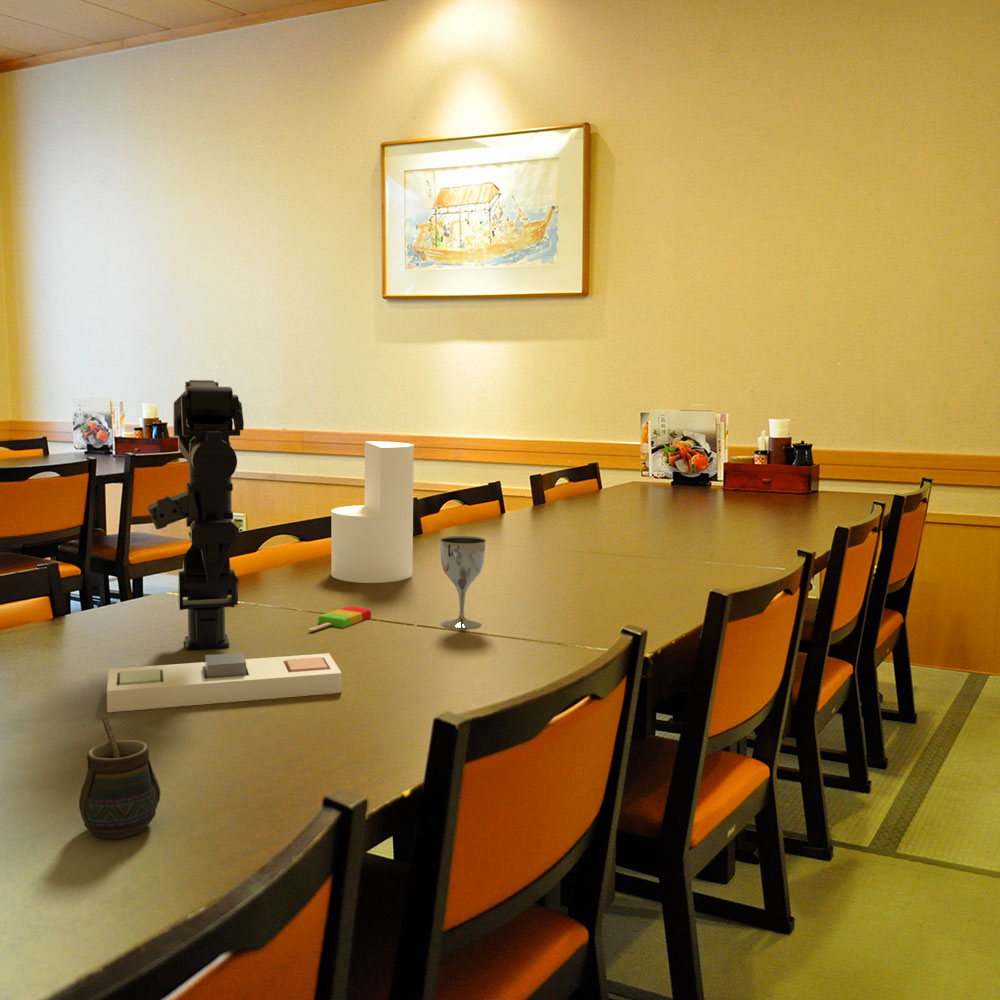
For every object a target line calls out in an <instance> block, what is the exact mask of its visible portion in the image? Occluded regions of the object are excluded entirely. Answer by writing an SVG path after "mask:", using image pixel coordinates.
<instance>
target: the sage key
mask: <svg viewBox="0 0 1000 1000" xmlns="http://www.w3.org/2000/svg"><path fill="white" fill-rule="evenodd" d="M156 682H160V669H149V670H136V671H122V672H120V685H130V684H143V683H156Z"/></svg>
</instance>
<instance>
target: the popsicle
mask: <svg viewBox="0 0 1000 1000" xmlns="http://www.w3.org/2000/svg"><path fill="white" fill-rule="evenodd" d="M318 616H319V617H318V625H316V626H313V627H309V628H308V632H315V631H318V630H321V629H324V628H327V627H329V626H330V627H331V626H332V627H335V628H336V627H337V628H343V629H344V628H347V627H350V626H352V625H355V624H357V623H360V622H361V623H362V621H363V622H364V621H367V620H369V619H371V618H372V610H371V609H370V608H365V607H360V606H359V607H358V606H345V607H342V608H339V609H337V610H336V609H335V610H332V611H330V612H327V613H324V614H320V615H318Z"/></svg>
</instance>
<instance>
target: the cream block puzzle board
mask: <svg viewBox="0 0 1000 1000" xmlns="http://www.w3.org/2000/svg"><path fill="white" fill-rule="evenodd" d="M316 657H322V658H323V660H324V662H325V663H326V665H327V667H328V669H327V670H314V671H301V672H288V670H287V668H286V660H288V659H302V658H316ZM245 661H246V676H235V677H222V678H209V679H207V677H206V670H205V661H204V662H203V661H202V662H189V663H188V662H187V663H176V664H159V665H147V666H145V665H144V666H134V667H133V666H132V667H131V666H130V667H117V668H116V667H115V668H109V669H108V675H107V686H106V705H107V706H106V708H107V711H106V712H107V713H114V712H115V713H116V712H127V711H128V712H129V711H139V710H140V711H141V710H150V709H151V710H152V709H164V708H165V709H166V708H177V707H188V706H189V707H190V706H198V705H199V706H200V705H212V704H223V703H234V702H237V703H238V702H246V701H259V700H270V699H271V700H272V699H284V698H295V697H305V696H318V695H319V696H321V695H330V694H342V693H343V691H342V690H343V688H342V687H343V683H342V681H343V680H342V679H343V674H342V671H341V669H340V668H339V667H338V665H337V663H336V662H335V660H334V658H333V656H331V654H330V653H329V652H327V653H317V654H316V653H315V654H314V653H313V654H300V655H287V656H275V657H274V656H272V657H259V658H245ZM149 669H160V682H156V683H143V684H130V685H120V672H122V671H136V670H149Z"/></svg>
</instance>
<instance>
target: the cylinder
mask: <svg viewBox="0 0 1000 1000" xmlns="http://www.w3.org/2000/svg"><path fill="white" fill-rule="evenodd" d="M414 450H415V444H413V443H407V442H397V441H396V442H395V441H372V440H371V441H370V440H369V441H368V440H366V441H364V505H350V506H349V505H347V506H339V507H336V508H335V507H334V508H332V509H331V512H330V513H331V517H330V518H331V533H330V534H331V539H330V540H331V542H330V544H331V561H330V562H331V567H330V568H331V569H330V571H331V573H330V574H331V575H330V576H331V577H332V578H334V579H337V580H339V581H344V582H351V583H362V584H363V583H366V584H375V583H377V584H378V583H380V584H383V583H390V582H391V583H392V582H393V583H394V582H399V581H404V580H408V579H409V578H412V576H413V554H414V553H413V549H414V548H413V544H414V543H413V541H414V538H413V536H414V535H413V534H414V468H415V467H414V459H415V458H414V456H415V454H414Z"/></svg>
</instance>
